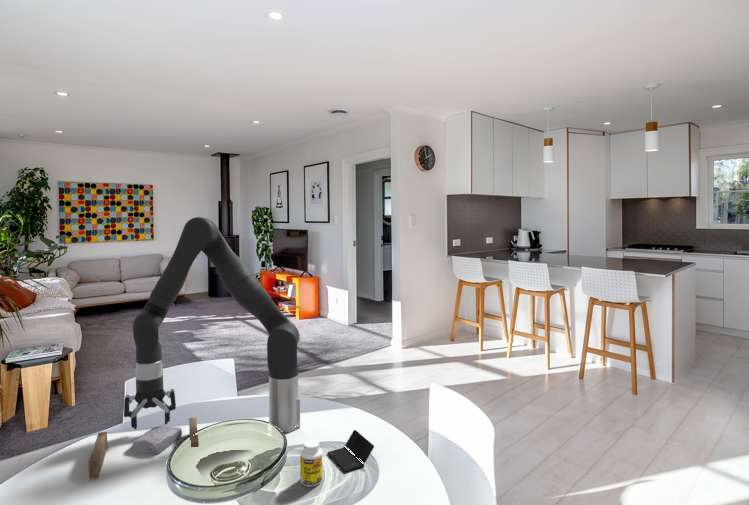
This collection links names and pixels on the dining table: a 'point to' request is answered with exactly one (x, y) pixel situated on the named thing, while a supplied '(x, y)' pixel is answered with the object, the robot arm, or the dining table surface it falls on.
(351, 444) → the handheld gaming console
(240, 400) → the dining table surface
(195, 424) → the walnut chute
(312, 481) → the supplement bottle
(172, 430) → the stone block
